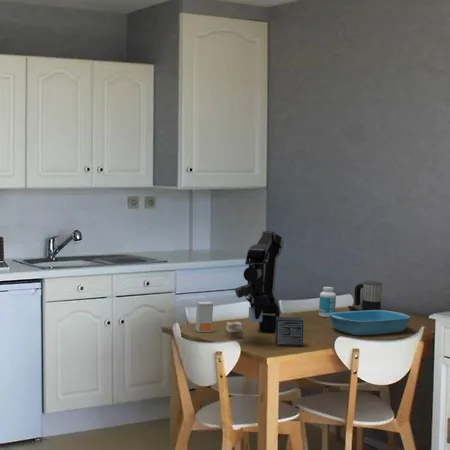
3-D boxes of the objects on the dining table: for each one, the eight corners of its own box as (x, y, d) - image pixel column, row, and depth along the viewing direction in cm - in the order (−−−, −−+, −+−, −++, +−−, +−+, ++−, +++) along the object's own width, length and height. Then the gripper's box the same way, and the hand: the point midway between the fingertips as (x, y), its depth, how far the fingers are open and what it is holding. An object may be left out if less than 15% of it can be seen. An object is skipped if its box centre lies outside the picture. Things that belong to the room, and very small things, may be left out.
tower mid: (238, 329, 360) (239, 321, 360) (241, 331, 355) (242, 324, 355) (226, 329, 359) (226, 322, 359) (229, 331, 354) (229, 324, 354)
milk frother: (383, 312, 425) (384, 281, 424) (375, 317, 411) (377, 286, 409) (354, 309, 431) (355, 279, 429) (345, 314, 416) (346, 283, 415)
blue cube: (259, 319, 354) (259, 307, 353) (262, 321, 349) (262, 309, 349) (248, 319, 353) (248, 307, 352) (251, 321, 348) (251, 309, 348)
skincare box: (198, 332, 364) (198, 303, 363) (195, 330, 368) (196, 301, 367) (212, 332, 366) (213, 303, 365) (209, 330, 370) (210, 301, 369)
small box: (301, 343, 351) (302, 316, 350) (303, 346, 344) (304, 320, 343) (274, 342, 350) (275, 316, 350) (275, 346, 344) (277, 319, 343)
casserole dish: (385, 323, 400) (386, 307, 399) (419, 332, 381) (420, 316, 380) (318, 329, 381) (319, 312, 381) (351, 339, 362) (352, 322, 362)
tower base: (237, 336, 361) (237, 329, 361) (242, 339, 356) (243, 331, 355) (224, 337, 359) (225, 329, 358) (230, 339, 354) (230, 332, 353)
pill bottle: (331, 318, 405) (333, 289, 404) (316, 316, 408) (317, 287, 407) (337, 316, 412) (338, 287, 410) (322, 314, 415) (323, 285, 414)
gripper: (231, 275, 357) (230, 313, 358) (242, 282, 339) (240, 322, 340) (258, 275, 359) (257, 313, 361) (270, 282, 341) (268, 322, 342)
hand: (255, 317), depth 351 cm, fingers closed on blue cube, 4 cm apart
